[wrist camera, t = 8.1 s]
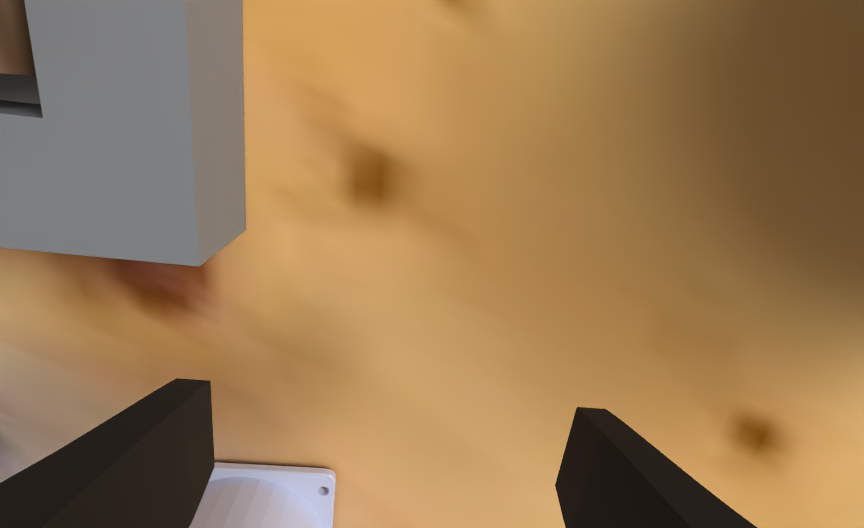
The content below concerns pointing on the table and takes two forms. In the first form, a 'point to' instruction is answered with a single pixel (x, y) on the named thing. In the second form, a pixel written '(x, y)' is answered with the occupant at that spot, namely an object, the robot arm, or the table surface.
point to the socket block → (126, 131)
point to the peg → (15, 39)
